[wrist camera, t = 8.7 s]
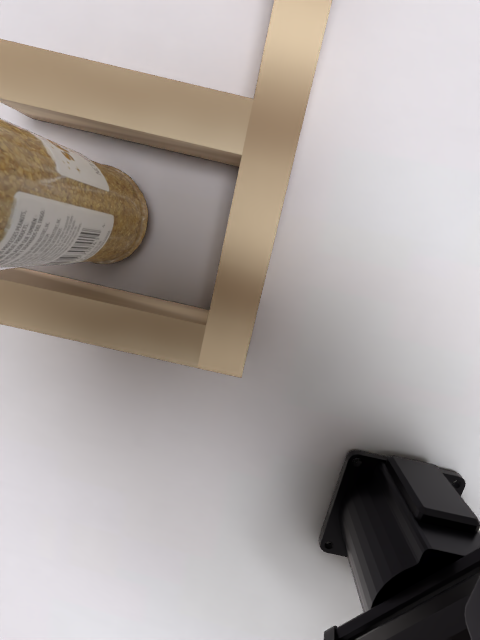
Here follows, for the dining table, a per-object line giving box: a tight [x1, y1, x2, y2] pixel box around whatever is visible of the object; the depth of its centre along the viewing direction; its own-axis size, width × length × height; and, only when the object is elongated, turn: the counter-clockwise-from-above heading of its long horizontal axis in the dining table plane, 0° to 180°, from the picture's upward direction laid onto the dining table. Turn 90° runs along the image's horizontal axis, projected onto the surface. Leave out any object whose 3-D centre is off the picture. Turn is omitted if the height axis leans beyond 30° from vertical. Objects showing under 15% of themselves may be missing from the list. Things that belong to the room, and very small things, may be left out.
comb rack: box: [0, 0, 332, 378], centre depth 16 cm, size 20×12×3 cm, turn 167°
